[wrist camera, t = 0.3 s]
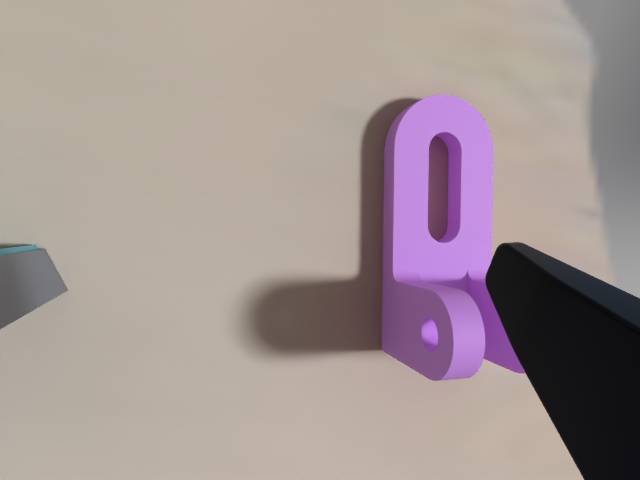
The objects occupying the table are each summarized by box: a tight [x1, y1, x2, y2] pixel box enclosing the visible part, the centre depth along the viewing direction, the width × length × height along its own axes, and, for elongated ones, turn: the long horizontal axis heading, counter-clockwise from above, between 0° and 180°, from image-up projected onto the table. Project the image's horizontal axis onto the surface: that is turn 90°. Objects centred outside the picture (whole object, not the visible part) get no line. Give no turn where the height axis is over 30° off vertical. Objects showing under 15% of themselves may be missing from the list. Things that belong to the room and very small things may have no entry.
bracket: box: [382, 95, 525, 381], centre depth 23 cm, size 13×6×7 cm, turn 179°
